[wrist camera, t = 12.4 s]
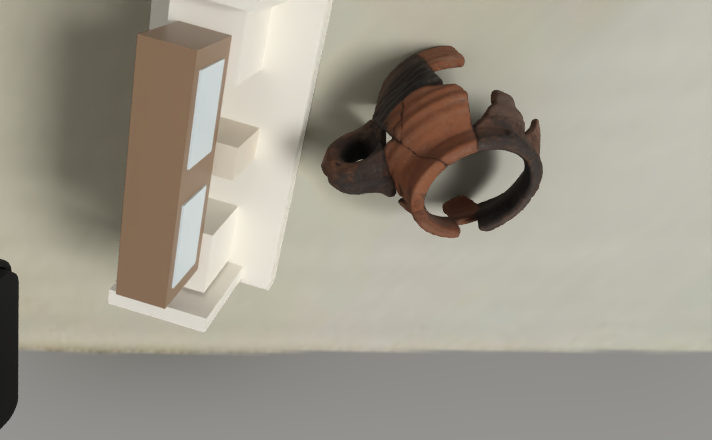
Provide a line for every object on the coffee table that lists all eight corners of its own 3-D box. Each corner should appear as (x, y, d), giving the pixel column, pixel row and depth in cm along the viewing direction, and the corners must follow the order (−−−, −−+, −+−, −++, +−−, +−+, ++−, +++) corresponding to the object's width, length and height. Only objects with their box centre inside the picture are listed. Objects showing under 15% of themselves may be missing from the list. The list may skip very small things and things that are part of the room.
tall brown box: (177, 20, 33) (135, 33, 29) (233, 36, 33) (199, 51, 29) (151, 255, 39) (114, 293, 35) (199, 269, 39) (166, 309, 35)
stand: (169, -62, 37) (94, -60, 30) (336, -17, 37) (301, -4, 29) (139, 239, 46) (76, 297, 39) (274, 279, 45) (236, 345, 38)
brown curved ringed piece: (500, 13, 36) (560, 100, 31) (507, 138, 43) (557, 227, 38) (294, 76, 37) (317, 173, 31) (334, 189, 44) (358, 286, 38)
